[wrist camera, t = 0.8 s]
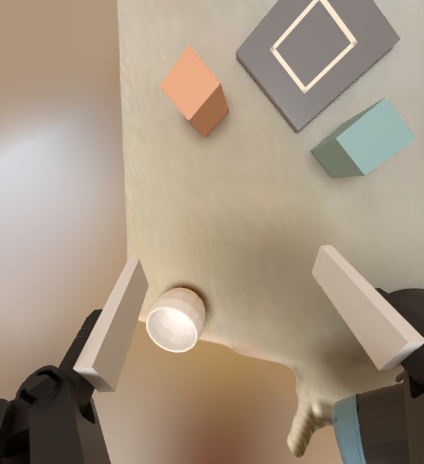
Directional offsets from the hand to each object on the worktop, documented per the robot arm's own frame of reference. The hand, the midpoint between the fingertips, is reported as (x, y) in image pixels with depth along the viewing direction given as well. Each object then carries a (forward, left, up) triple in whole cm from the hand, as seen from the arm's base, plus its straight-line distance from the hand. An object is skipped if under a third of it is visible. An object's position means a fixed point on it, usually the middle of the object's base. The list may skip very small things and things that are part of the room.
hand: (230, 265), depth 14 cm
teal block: (-2, -19, -25) cm, 31 cm away
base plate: (+13, -24, -25) cm, 37 cm away
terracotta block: (+19, -7, -25) cm, 32 cm away
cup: (-8, +25, -25) cm, 36 cm away
